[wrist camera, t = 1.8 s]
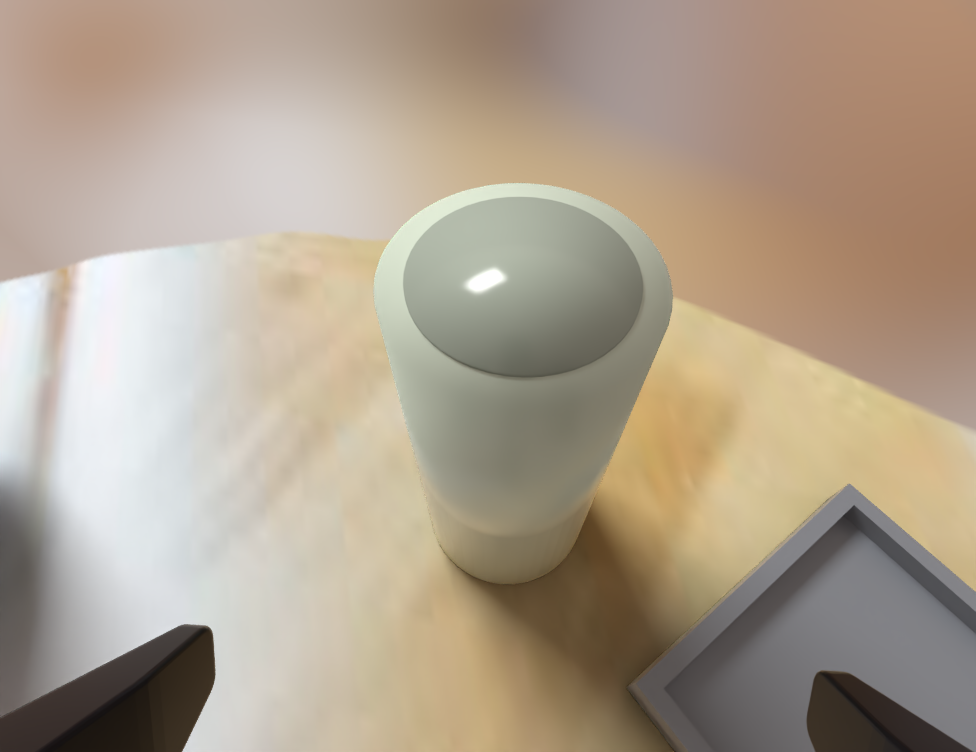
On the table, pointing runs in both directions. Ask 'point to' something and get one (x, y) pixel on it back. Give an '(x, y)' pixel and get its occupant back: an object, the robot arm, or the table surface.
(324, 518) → the table surface
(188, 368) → the table surface
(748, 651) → the tray
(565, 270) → the domed cap cylinder
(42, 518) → the table surface
